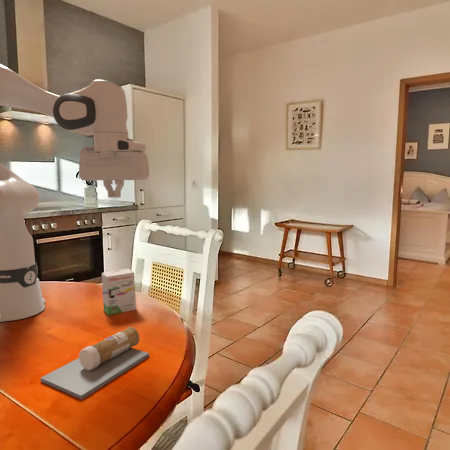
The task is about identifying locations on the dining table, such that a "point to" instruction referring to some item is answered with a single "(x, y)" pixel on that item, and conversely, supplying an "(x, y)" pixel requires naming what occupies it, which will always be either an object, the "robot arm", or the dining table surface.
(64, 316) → the dining table surface
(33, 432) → the dining table surface
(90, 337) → the dining table surface
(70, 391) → the cutting board
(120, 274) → the ink box
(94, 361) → the sprinkles bottle
